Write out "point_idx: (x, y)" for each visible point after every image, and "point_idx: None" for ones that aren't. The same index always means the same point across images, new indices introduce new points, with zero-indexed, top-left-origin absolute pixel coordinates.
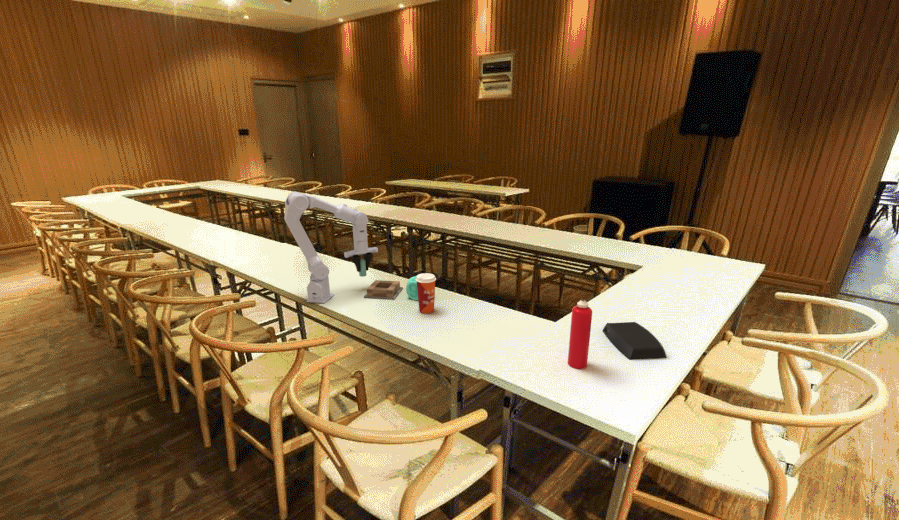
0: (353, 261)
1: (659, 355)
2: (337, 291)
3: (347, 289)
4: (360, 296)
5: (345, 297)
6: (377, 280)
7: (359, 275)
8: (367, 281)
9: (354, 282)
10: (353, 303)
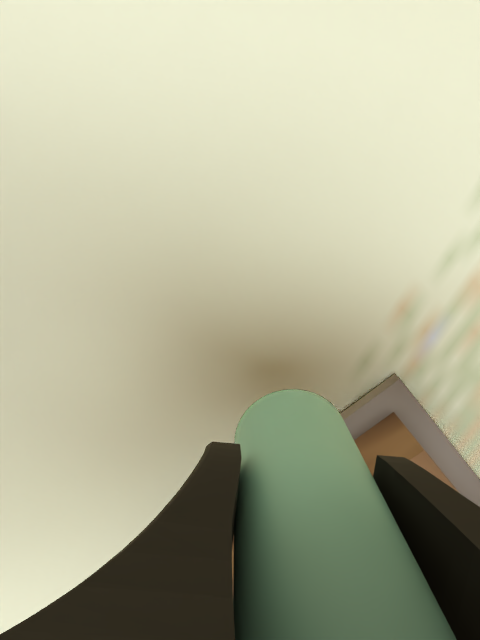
0: (105, 564)
1: None
2: (16, 221)
3: (133, 240)
4: (151, 497)
5: (24, 430)
6: (434, 475)
7: (236, 430)
8: (450, 152)
9: (313, 66)
10: (30, 588)
